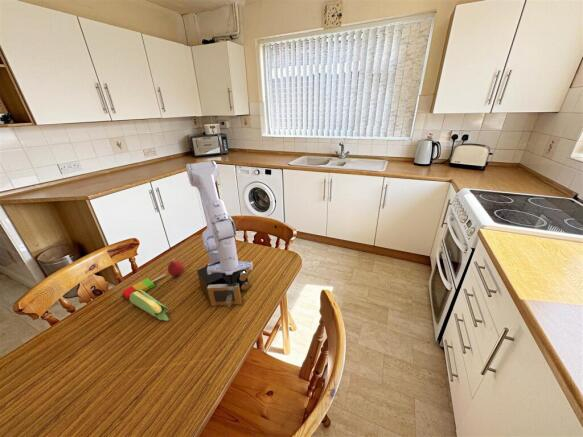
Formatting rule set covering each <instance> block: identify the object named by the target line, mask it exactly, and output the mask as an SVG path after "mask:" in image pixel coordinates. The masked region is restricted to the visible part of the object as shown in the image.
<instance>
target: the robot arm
mask: <svg viewBox="0 0 583 437" xmlns="http://www.w3.org/2000/svg"><path fill="white" fill-rule="evenodd" d="M185 168H186V169H185V170H186V173H187V178H188V182H189V184H190V186H191V187H194V188H196V189H197V190H198V194H199V198H200V201H201V202H200V203H201V206H202V210H203V214H204V219H205V224H206V228H205V230H204V231H202V233H201V239H202V245H203V249H204V251H205V252H206V253H207V256H208V263H207V266H208V268H207V273H208V275H209V274H211V273H216V272H220V273H222V278H223V279H224V280H225V281H226V282H227V283H228V284H235V283H236V280H237V278H238V275H239V270H244V269H246V270H250V271H252V270H253V261H244V260H243V261H242V260H239V258H238V252H237V245H236V239H235V236H237V229H236V225H235V222H234V220H233V218H232V217H231V215H230V214H229V212H228V210H227V207H226V205H225V202H224V200H222V199H220V197H219V194H218V189H217V185H216V183H217V181H218V178H219V170H218V169H219V168H218V164H217V162H216V161H215V160H211V161H209V160H208V161H201V162H194V163H186V165H185ZM219 261H220V264H216V265H213V266H209V265H211V264H214V263H216V262H219Z"/></svg>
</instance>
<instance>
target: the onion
mask: <svg viewBox="0 0 583 437" xmlns="http://www.w3.org/2000/svg"><path fill="white" fill-rule="evenodd" d="M184 270H185V265H184V263H183V262H181V261H180V260H176V258H173V259H172V260H171V262H169V264H168V266H167V273H168V274H169V275H170V276H172V277H179V276H180V275H182V274H183V273H184Z"/></svg>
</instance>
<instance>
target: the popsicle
mask: <svg viewBox="0 0 583 437" xmlns="http://www.w3.org/2000/svg"><path fill="white" fill-rule="evenodd" d="M166 276H167V274H166V273H163V274H162V275H160V276H158V277H156V278H154V279H153V280H150V279H149V278H147V277H145V279H142V280H141V281H139V282H137V283H135V284H133V285H132V286H129V287H127V288H126V289H124V290H123V291H122V295H123V297H124V298H125V299H126V300H127V301H130V300H129V299H130V295H131V293H132V291H133V290H141V291H144V292H146V293H147V292H148V291H150V290H152V289H153V288H155V287H156V285H155V282H157V281H159V280H160V279H162V278H164V277H166Z"/></svg>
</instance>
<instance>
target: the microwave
mask: <svg viewBox="0 0 583 437" xmlns="http://www.w3.org/2000/svg"><path fill="white" fill-rule="evenodd" d="M216 264H220V261H219V262H216V263H214V264H211V265H209V266H213V265H216ZM207 268H208V265H207V266H204V267H201V268H200V269H197V270H196V272H197V277H198V280H199V285H200V288H201V289H202V292H203V293H204V294H205V296H206V297H207V299H208V300H209V301H210V298H209V294H208V290H207V287H208V285H216V284H228V283H227V282H226V281H225V280H224V279H223V278H222V273H220V272H216V273H211V274H209V275H208V273H207ZM236 283H239V288H240V292H241V291H243V292H244V291H247V290H248V289H249V287H250V283H249V279H248V273H247V269H244V270H239V275H238V278H237V280H236Z"/></svg>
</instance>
